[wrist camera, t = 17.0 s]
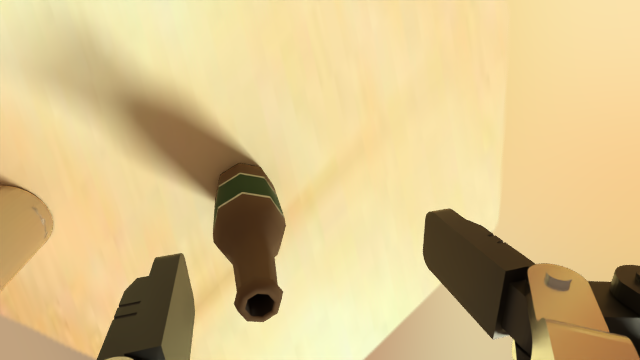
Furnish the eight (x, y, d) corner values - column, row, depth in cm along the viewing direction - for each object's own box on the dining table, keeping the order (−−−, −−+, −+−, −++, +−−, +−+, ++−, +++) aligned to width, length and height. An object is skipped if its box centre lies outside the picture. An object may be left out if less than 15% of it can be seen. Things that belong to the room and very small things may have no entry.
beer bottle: (208, 166, 46) (194, 277, 24) (267, 156, 47) (303, 251, 26) (221, 218, 49) (218, 358, 27) (276, 207, 50) (315, 331, 29)
